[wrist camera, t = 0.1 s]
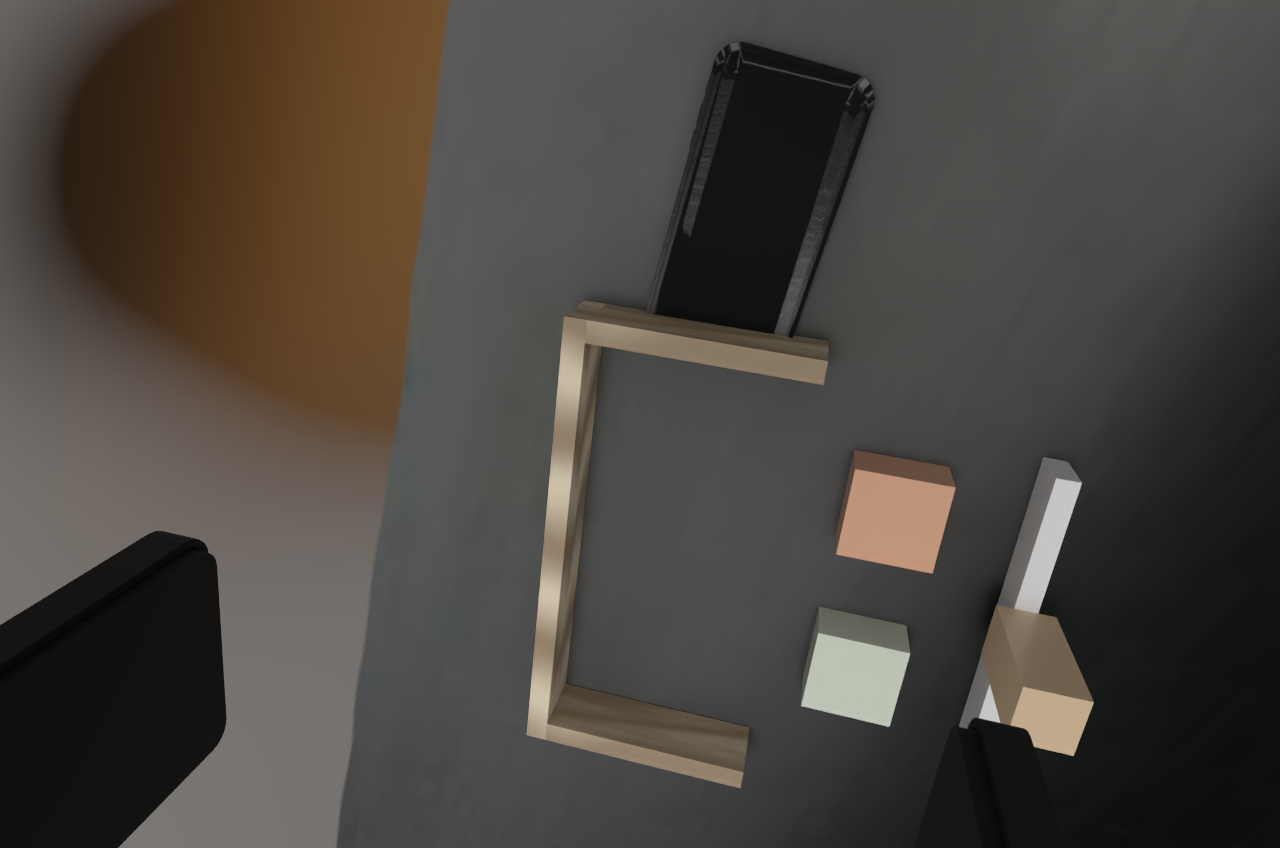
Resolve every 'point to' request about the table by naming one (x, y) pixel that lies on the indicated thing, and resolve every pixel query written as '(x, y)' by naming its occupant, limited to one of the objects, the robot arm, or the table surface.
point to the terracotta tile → (894, 511)
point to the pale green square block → (855, 666)
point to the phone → (759, 189)
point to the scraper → (1033, 631)
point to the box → (553, 702)
